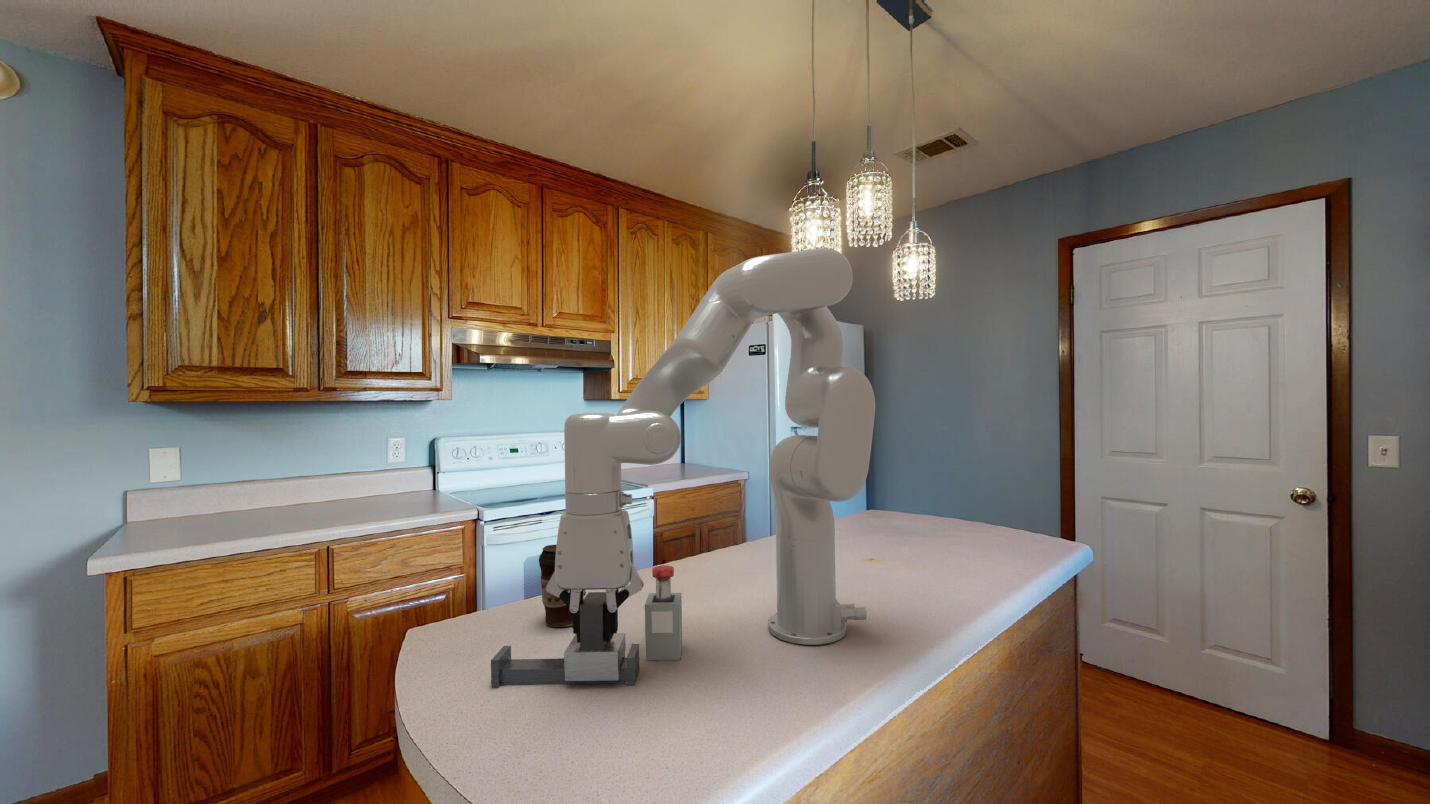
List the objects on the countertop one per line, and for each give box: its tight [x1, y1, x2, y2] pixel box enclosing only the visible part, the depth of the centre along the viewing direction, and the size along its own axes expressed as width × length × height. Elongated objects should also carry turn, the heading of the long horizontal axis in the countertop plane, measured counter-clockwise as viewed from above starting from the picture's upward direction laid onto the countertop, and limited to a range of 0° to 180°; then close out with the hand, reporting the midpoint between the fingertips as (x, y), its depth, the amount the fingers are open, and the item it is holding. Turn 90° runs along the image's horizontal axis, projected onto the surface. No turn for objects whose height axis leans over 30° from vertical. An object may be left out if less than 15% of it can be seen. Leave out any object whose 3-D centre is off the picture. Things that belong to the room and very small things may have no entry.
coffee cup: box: [538, 543, 587, 628], centre depth 95 cm, size 9×8×13 cm
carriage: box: [563, 591, 627, 681], centre depth 75 cm, size 7×6×10 cm
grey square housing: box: [644, 592, 683, 661], centre depth 82 cm, size 5×5×8 cm
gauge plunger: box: [651, 565, 675, 603], centre depth 82 cm, size 3×3×7 cm
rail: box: [490, 643, 640, 689], centre depth 75 cm, size 19×4×4 cm, turn 90°
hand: (595, 637), depth 75 cm, fingers closed on carriage, 3 cm apart
